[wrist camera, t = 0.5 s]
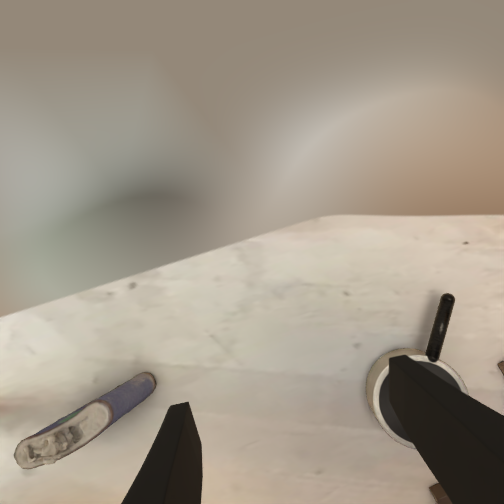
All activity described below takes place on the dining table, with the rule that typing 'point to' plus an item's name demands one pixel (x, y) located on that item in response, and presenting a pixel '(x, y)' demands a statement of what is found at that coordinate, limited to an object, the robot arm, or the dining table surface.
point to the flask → (82, 424)
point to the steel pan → (430, 360)
